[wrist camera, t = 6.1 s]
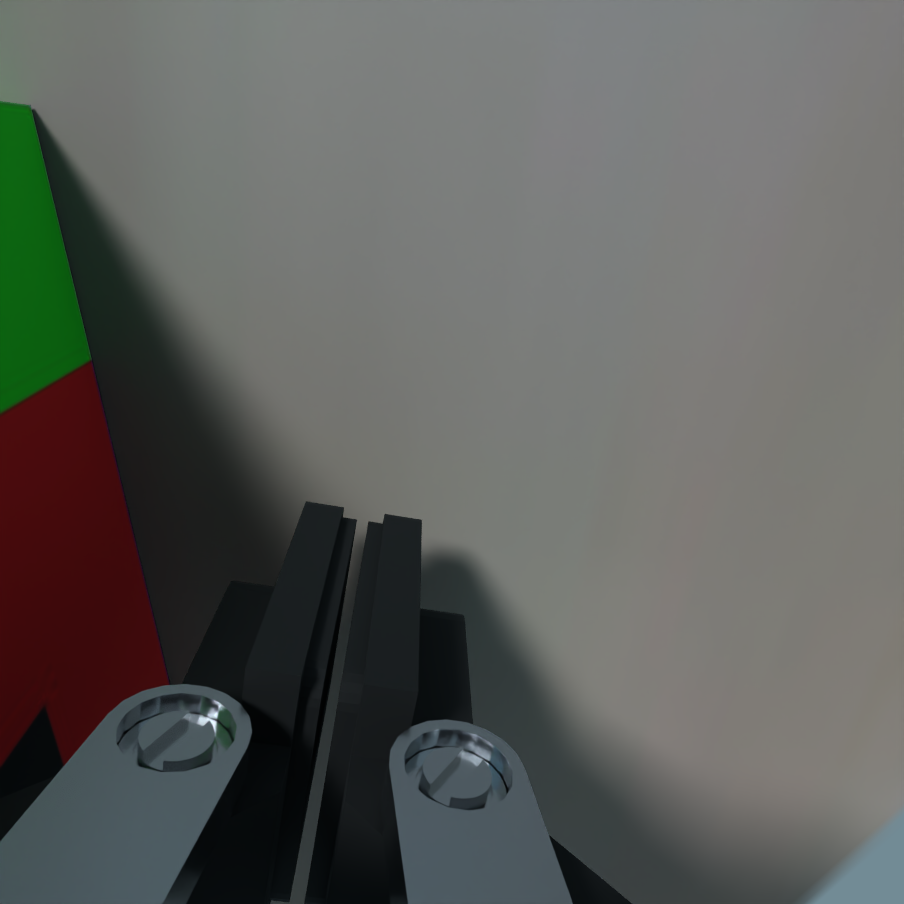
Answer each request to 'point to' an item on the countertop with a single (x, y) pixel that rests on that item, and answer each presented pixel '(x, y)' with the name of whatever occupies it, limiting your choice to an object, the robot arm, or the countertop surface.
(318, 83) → the countertop surface
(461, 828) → the robot arm
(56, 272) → the puzzle toy
